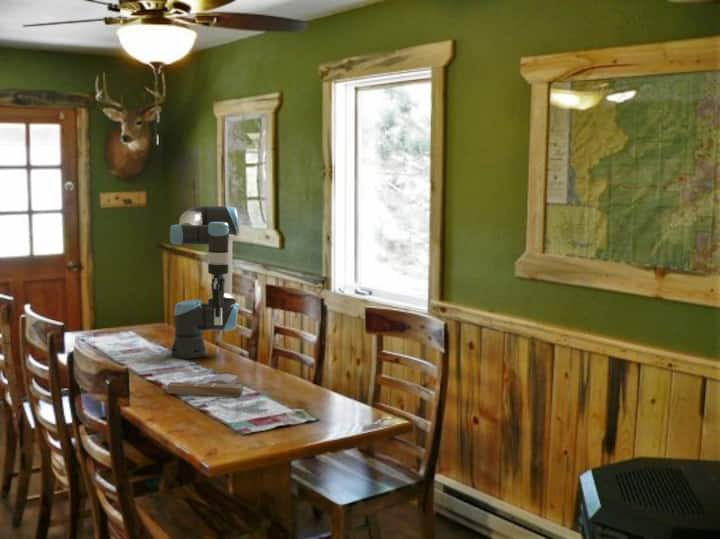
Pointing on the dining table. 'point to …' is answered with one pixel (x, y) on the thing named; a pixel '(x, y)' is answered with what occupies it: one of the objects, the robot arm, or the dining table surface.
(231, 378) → the stone block
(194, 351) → the robot arm
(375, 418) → the dining table surface
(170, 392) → the tan wooden bar
